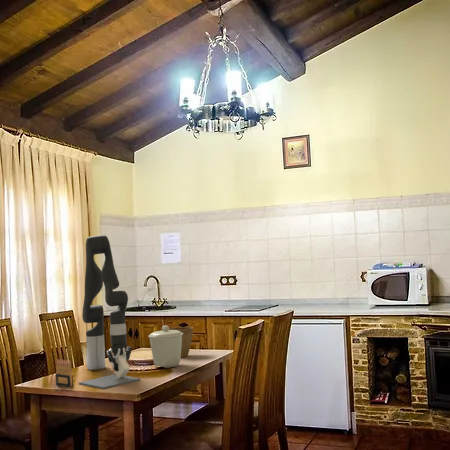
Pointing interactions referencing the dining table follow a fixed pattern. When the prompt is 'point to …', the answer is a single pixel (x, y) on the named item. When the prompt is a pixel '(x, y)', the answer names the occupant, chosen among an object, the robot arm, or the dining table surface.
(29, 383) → the dining table surface
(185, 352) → the plant pot
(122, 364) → the cream block
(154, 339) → the canister
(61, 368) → the ammunition clip
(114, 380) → the rubber mat
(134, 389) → the dining table surface
